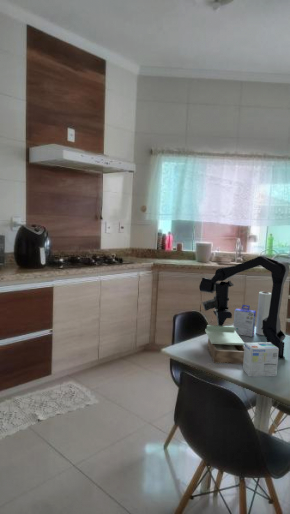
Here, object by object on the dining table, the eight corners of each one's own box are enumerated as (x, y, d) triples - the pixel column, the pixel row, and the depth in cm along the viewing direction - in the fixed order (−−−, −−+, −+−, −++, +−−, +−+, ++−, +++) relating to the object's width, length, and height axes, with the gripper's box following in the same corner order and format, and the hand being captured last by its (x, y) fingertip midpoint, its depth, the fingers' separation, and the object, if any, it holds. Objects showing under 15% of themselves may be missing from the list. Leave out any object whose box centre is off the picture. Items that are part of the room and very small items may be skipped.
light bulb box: (268, 368, 132) (270, 341, 131) (277, 376, 125) (279, 348, 124) (241, 369, 130) (243, 341, 129) (249, 377, 124) (251, 348, 122)
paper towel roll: (253, 332, 175) (256, 291, 173) (262, 331, 178) (265, 291, 175) (263, 337, 169) (267, 294, 166) (272, 336, 171) (276, 293, 169)
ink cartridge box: (254, 334, 173) (256, 306, 171) (252, 337, 168) (255, 308, 166) (234, 330, 177) (236, 303, 175) (232, 333, 172) (234, 305, 170)
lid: (234, 332, 157) (235, 326, 157) (244, 345, 141) (245, 338, 140) (205, 330, 157) (205, 324, 157) (211, 343, 141) (211, 337, 141)
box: (237, 349, 151) (238, 338, 150) (247, 364, 135) (248, 352, 134) (207, 347, 151) (208, 336, 150) (214, 362, 135) (215, 350, 134)
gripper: (201, 290, 167) (199, 321, 168) (207, 298, 148) (205, 333, 150) (224, 291, 167) (222, 322, 168) (233, 299, 148) (230, 334, 150)
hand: (219, 327), depth 159 cm, fingers closed
